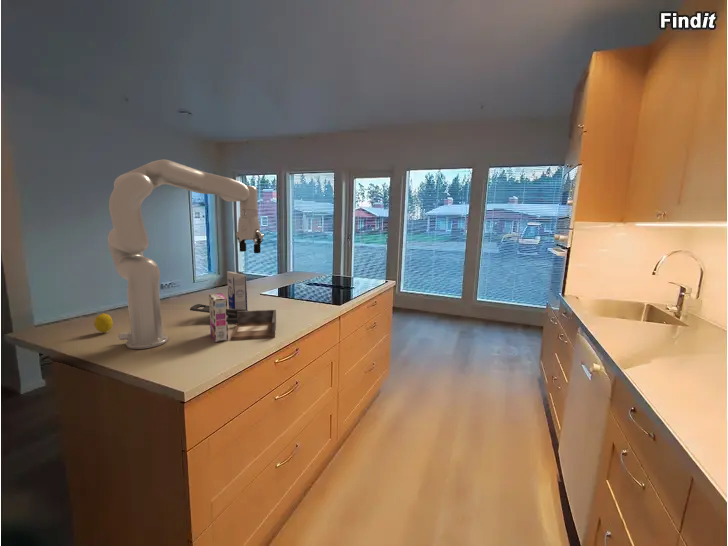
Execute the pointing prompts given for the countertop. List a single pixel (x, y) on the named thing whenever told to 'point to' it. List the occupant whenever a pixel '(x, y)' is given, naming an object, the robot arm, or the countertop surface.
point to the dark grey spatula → (230, 312)
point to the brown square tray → (255, 324)
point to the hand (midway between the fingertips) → (250, 252)
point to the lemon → (103, 323)
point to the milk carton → (237, 290)
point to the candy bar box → (218, 317)
